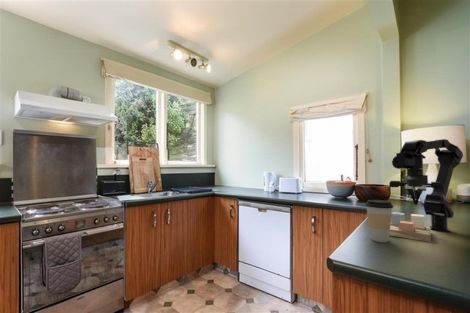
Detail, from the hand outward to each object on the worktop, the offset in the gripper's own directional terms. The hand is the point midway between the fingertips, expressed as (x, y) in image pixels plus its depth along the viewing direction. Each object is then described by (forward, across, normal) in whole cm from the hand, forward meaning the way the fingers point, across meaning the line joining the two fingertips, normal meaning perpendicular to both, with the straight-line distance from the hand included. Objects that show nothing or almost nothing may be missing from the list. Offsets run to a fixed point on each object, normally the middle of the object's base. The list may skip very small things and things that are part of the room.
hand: (415, 204), depth 105 cm
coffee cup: (+12, -11, -23) cm, 28 cm away
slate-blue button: (+9, -6, -1) cm, 11 cm away
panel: (+12, -3, -5) cm, 13 cm away
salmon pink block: (+11, -3, -9) cm, 15 cm away
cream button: (+9, 0, -1) cm, 9 cm away
